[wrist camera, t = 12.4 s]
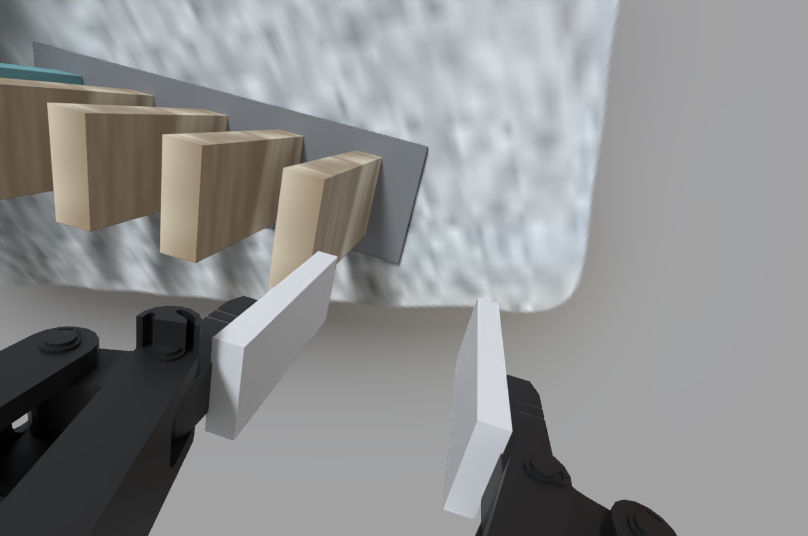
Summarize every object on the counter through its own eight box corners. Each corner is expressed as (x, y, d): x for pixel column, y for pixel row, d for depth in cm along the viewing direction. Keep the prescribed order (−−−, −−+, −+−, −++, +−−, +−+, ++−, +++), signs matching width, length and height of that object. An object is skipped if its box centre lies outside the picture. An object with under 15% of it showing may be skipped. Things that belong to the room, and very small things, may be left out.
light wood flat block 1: (129, 167, 34) (-44, 191, 22) (129, 89, 31) (-64, 71, 20) (152, 174, 33) (-11, 201, 22) (153, 95, 31) (-28, 81, 20)
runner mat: (47, 160, 35) (42, 160, 35) (38, 43, 32) (33, 42, 31) (398, 261, 33) (398, 263, 32) (428, 146, 29) (427, 147, 29)
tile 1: (340, 227, 32) (268, 284, 21) (355, 150, 30) (283, 167, 19) (365, 234, 32) (305, 295, 21) (382, 157, 30) (324, 179, 19)
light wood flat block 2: (268, 207, 33) (159, 252, 21) (278, 129, 30) (162, 134, 19) (292, 214, 32) (195, 263, 21) (303, 136, 30) (202, 145, 19)
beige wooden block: (198, 187, 33) (56, 221, 22) (202, 109, 31) (47, 102, 20) (221, 193, 33) (90, 231, 22) (227, 115, 31) (85, 113, 20)
